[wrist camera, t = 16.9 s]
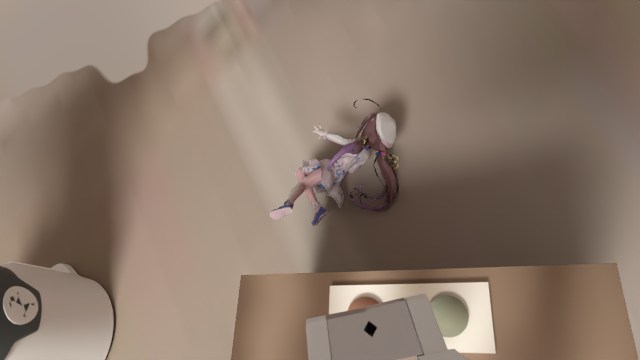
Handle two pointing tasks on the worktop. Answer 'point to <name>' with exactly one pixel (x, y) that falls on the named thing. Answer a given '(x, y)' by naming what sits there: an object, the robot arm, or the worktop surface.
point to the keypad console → (451, 310)
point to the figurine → (346, 166)
